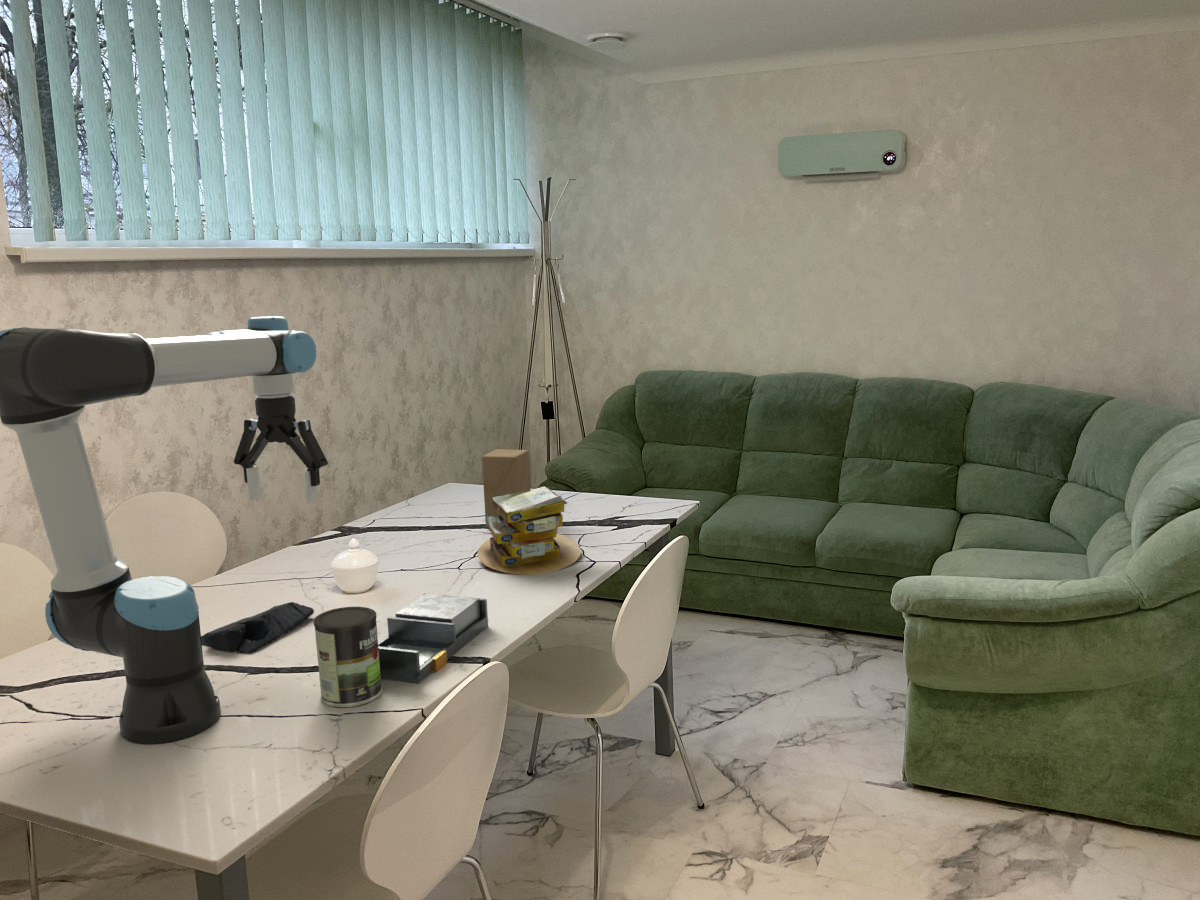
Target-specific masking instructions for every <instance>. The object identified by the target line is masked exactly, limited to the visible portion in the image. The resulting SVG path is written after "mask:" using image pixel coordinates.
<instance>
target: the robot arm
mask: <svg viewBox="0 0 1200 900" xmlns="http://www.w3.org/2000/svg"><path fill="white" fill-rule="evenodd" d="M288 323H289V322H288V320H287V319H286V318H285V316H282V315H281V316H279V315H274V316H273V315H269V316H253V317H250V318H249V319H248V320H247V327H246V329H244V328H243V329H232V330H231V329H230V330H215V331H213V332H207V333H205V334H203V335H190V336H189V335H188V336H173V337H171V336H170V337H157V338H155V337H154V338H144V337H143V336H142V335H141V334H139V333H133V332H129V333H125V332H124V333H113V332H102V331H101V332H99V331H93V330H84V329H75V328H74V329H73V328H41V327H40V328H35V327H34V328H33V327H25V326H23V327H15V328H8V329H3V330H0V421H1V424H2V425H3V426H5V427H6V428H9V430H12V431H14V432H15V433H16V435H17V438H18V442H19V444H20V448H21V452H22V455H23V460H24V461H25V462H24V463H25V466H26V469H27V473H28V475H29V480H30V482H31V486H32V489H33V493H34V497H35V499H36V503H37V506H38V508H39V513H40V516H41V517H40V518H41V520H42V523H43V527H44V530H45V533H46V536H47V540H48V543H49V546H50V550H51V553H52V557H53V560H54V564H55V567H56V570H57V571H56V572H57V573H56V574H55V575H54V577H53V578H52V580H51V581H50V588H51V592H49V593H50V594H49V596H48V598H49V601H48V602H46V603H45V609H44V611H45V612H44V615H45V621H46V625H47V627H48V629H49V632H50V633H51V634H52V635H53V636H54V637H55V638H56V639H57V640H58V641H60V642H62V643H63V644H65V645H68V646H69V647H72V648H73V649H77V650H78V649H79V650H81V651H83V652H84V651H85V652H94V653H100V654H104V655H109V656H114V657H118V658H122V661H123V667H124V668H123V669H124V674H125V676H124V677H125V682H126V687H125V691H124V696H123V701H122V706H121V707H122V710H121V711H120V714H119V717H118V719H119V721H118V723H119V730H120V731H119V732H120V735H121V737H122V738H124V739H125V740H126V741H128V742H131V743H136V744H162V743H168V742H173V741H174V742H175V741H177V740H182V739H185V738H189V737H191V736H194V735H196V734H199V733H201V732H203V731H206V730H207V729H208V728H210V727H211V726H213V725H214V724H215V723H216V722H217V721H218V720H219V719H220V717H221V715H222V710H221V701H220V698H219V696H218V694H217V693H216V692H215V690H214V688H213V685H212V683H211V681H210V677H208V674H207V673H206V669H205V664H204V653H203V646H202V642H201V636H202V634H201V625H200V615H199V613H200V611H199V607H200V606H199V604H198V602H197V598H196V593H195V590H194V588H193V586H192V585H191V584H190V583H189V582H188V581H186V580H183V579H181V578H179V577H176V576H169V575H161V576H155V575H149V576H142V577H137V578H133V577H132V574H131V570H130V567H129V563H128V562H127V561H126V560H124V559H122V558H119V557H117V556H116V555H115V551H114V548H113V545H112V544H113V543H112V539H111V538H110V532H109V529H108V526H107V523H106V519H105V515H104V512H103V506H102V504H101V500H100V497H99V492H98V490H97V489H98V488H97V487H96V482H95V480H94V475H93V471H92V468H91V464H90V461H89V460H90V459H89V457H88V453H87V449H86V446H85V442H84V438H83V436H82V431H81V428H80V425H79V417H80V416H81V414H82V413H83V412H84V410H85V409H86V406H88V405H92V404H97V403H102V402H108V401H113V400H119V399H125V398H131V397H137V396H143V395H145V394H147V393H149V391H150V390H152V388H157V387H167V386H175V385H183V384H191V383H200V382H209V381H217V380H219V381H220V380H224V379H225V380H226V379H227V380H229V379H236V378H243V377H252V384H253V394H254V395H255V396H257V397H255V399H254V406H255V415H256V416H257V417H258V418H255V417H252V418H251V417H250V418H248V419H245V420H243V433H242V435H241V438H240V441H239V444H238V446H237V447H238V448H237V450H236V452H235V455H234V458H233V464H235V465H240V466H241V468H242V469H243V475H244V476H243V477H244V478H243V480H244V483H245V484H247V493H248V501H254V500H257V499H259V498H261V485H260V475H259V466H258V465H256V462H257V461H258V459H259V457H260V456H261V454H263V451H264V450H265V448H266V447H267V445H268V444H269V443H278V444H282V443H285V444H286V445H287V446H289V447H290V449H292V451H293V452H294V453H295V454H296V456H297V457H298V458H299V460H300V461H301V462H302V463H303V464H304V466H305V467H306V468H307V470H304V480H305V491H306V502H307V504H313V503H315V502H318V501H319V494H318V493H319V492H318V486H320V484H321V478H320V469H321V468H323V467H325V466H327V465H328V463H329V462H328V460H327V458H326V455H325V454H324V452H323V450H322V447H321V446H320V444H319V442H318V441H317V438H316V436H315V433H314V432H313V431H312V427H311V426H312V425H311V420H309V419H308V418H306V419H302V420H299V421H298V420H296V417H295V416H296V415H295V414H296V411H297V409H296V399H295V396H294V395H292V394H293V393H294V391H295V388H294V387H295V386H294V378H293V377H294V374H296V373H300V374H301V373H306V372H307V371H310V370H311V368H312V367H313V366H314V365H315V363H316V361H317V356H318V355H317V346H316V343H315V340H314V339H313V337H312V336H311V335H310V334H309V333H307V332H306V331H300V330H294V329H291V330H290V329H289V324H288ZM257 430H258V431H260V433H259V435H258V436H257V437H256V433H257ZM296 431H297V432H298V433H299V434H298V433H297V432H296ZM255 437H256V439H255ZM254 439H255V440H256V441H255V442H254ZM301 439H302V440H301ZM253 442H254V444H253Z"/></svg>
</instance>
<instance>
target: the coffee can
mask: <svg viewBox="0 0 1200 900" xmlns="http://www.w3.org/2000/svg"><path fill="white" fill-rule="evenodd" d="M313 627H314V632H315V634H314V635H315V643H316V652H317V653H316V654H317V655H316V656H317V665H318V674H319V683H320V684H319V686H320V694H321V696H320V700H321V702H322V703H323V704H324V705H327V706H328V707H334V708H353V707H358V706H359V707H360V706H362V705H366V704H369V703H371V702H373V701H375V700H377V699H378V698H379V697H380V696H381V695H382V693H383V688H382V679H381V675H380V663H379V650H378V643H379V640H378V639H379V638H378V627H377V612H376V611H375V610H374V609H372V608H369V607H367V606H366V607H365V606H344V607H338V608H333V609H329V610H326V611H323V612H322V613H320V614H318V615H317V616H315V617H314V618H313Z"/></svg>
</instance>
